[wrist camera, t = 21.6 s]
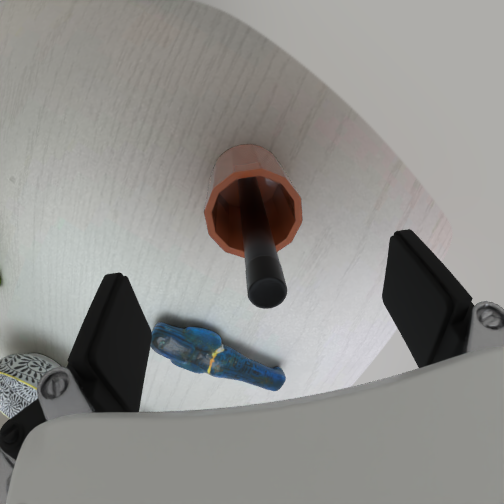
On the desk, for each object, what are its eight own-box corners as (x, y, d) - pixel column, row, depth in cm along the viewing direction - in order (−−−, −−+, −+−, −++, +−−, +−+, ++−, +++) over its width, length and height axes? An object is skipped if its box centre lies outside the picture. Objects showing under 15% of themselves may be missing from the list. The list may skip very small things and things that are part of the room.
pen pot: (206, 150, 22) (196, 178, 16) (278, 139, 21) (298, 163, 15) (218, 215, 24) (215, 264, 18) (284, 205, 24) (304, 251, 18)
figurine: (287, 355, 34) (163, 301, 30) (298, 373, 30) (161, 317, 26) (266, 386, 34) (144, 338, 30) (274, 406, 31) (141, 357, 26)
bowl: (119, 378, 34) (108, 429, 28) (77, 413, 39) (67, 452, 32) (12, 306, 28) (-17, 351, 21) (-6, 359, 32) (-25, 396, 26)
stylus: (236, 174, 22) (245, 281, 11) (256, 171, 22) (286, 275, 11) (239, 192, 23) (250, 311, 12) (258, 189, 23) (288, 306, 12)
